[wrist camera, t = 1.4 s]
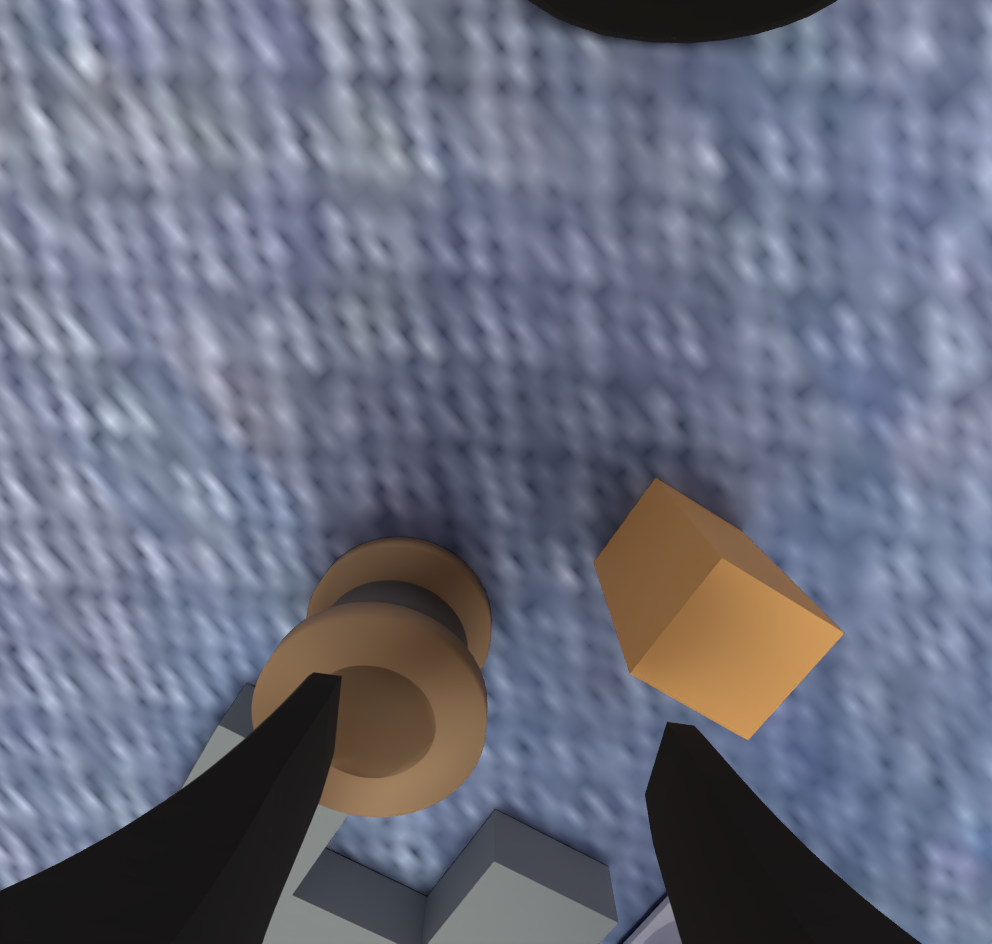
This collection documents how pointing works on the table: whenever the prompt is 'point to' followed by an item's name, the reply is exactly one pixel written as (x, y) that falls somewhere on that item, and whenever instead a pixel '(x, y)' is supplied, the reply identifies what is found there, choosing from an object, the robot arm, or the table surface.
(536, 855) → the notched board
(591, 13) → the portable speaker
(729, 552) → the orange rectangular block
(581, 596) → the table surface
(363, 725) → the bobbin post
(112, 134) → the table surface
